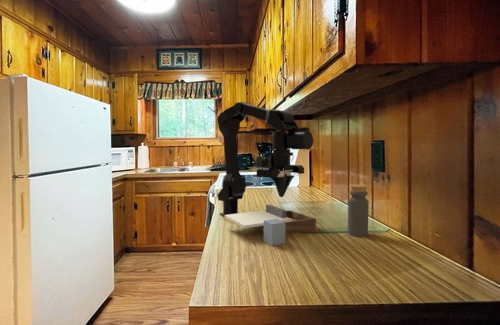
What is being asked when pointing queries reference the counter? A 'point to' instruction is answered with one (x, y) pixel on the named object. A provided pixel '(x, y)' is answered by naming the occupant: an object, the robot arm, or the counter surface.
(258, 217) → the lid
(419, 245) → the counter surface
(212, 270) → the counter surface
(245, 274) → the counter surface
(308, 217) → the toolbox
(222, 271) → the counter surface
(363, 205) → the bottle
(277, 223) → the blue gray block
